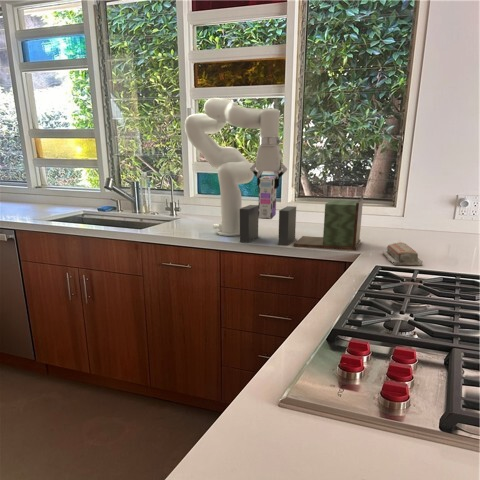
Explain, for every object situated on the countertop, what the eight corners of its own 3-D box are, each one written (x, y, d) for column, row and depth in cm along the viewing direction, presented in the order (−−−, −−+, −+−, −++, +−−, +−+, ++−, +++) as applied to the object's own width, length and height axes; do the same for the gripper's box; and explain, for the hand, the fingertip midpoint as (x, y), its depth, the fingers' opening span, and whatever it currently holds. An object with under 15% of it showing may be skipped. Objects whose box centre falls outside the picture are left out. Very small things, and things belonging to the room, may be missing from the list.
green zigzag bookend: (293, 246, 189) (295, 200, 183) (302, 238, 204) (304, 196, 198) (356, 250, 182) (360, 203, 175) (360, 242, 197) (364, 198, 190)
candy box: (271, 219, 191) (273, 178, 185) (257, 219, 192) (258, 177, 186) (276, 214, 203) (277, 175, 197) (262, 214, 205) (263, 175, 198)
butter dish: (424, 252, 157) (394, 252, 157) (422, 266, 158) (393, 265, 159) (410, 241, 173) (383, 241, 174) (408, 254, 175) (381, 253, 176)
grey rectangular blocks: (239, 242, 198) (239, 208, 193) (249, 236, 210) (249, 204, 205) (287, 245, 192) (288, 210, 187) (295, 238, 204) (296, 206, 199)
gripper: (292, 142, 187) (290, 188, 194) (251, 141, 193) (251, 186, 199) (288, 142, 181) (286, 189, 187) (246, 141, 186) (245, 188, 193)
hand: (268, 187), depth 193 cm, fingers closed on candy box, 6 cm apart
